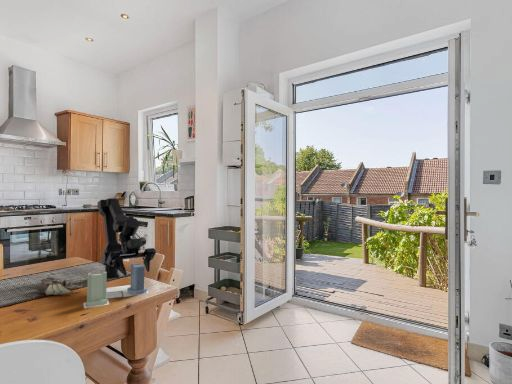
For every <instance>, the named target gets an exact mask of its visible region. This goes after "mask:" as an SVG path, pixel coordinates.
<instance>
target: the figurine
mask: <svg viewBox="0 0 512 384" xmlns="http://www.w3.org/2000/svg"><path fill="white" fill-rule="evenodd" d="M40 282H41V283H39V284H38V285H34V286H29V285H28V286H27V285H23V287H25V288H28V289H32V290H33V291H35V292H36V293H41V294H45V295H46V297H47V296H50V297H51V296H52V295H54V296H58V295H59V296H60V295H61V296H62V295H63V296H64V295H66V294H71V293H75V292H74V290H73V289H69V288H68V287H73V288H83V282H84V280H73V279H68V280H67V279H66V278H65V279H64V280H62V279H61V278H58V277H57V278H56V277H52V276H51V275H48V276H46V277H42V278H41V279H40ZM80 282H81V284H80V285H76V283H80Z"/></svg>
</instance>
